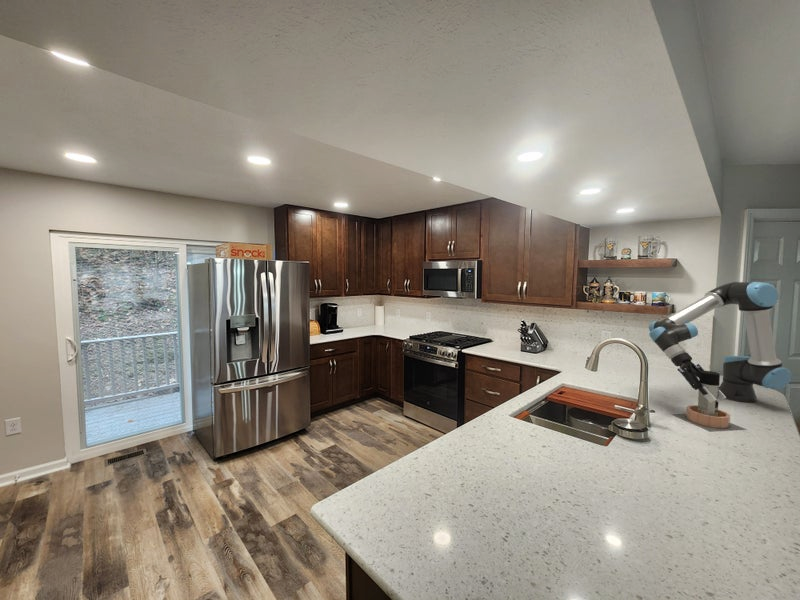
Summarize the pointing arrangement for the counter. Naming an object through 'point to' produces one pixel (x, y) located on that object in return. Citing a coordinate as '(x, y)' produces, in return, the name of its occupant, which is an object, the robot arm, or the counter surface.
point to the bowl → (708, 418)
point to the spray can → (712, 385)
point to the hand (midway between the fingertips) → (718, 400)
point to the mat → (710, 429)
